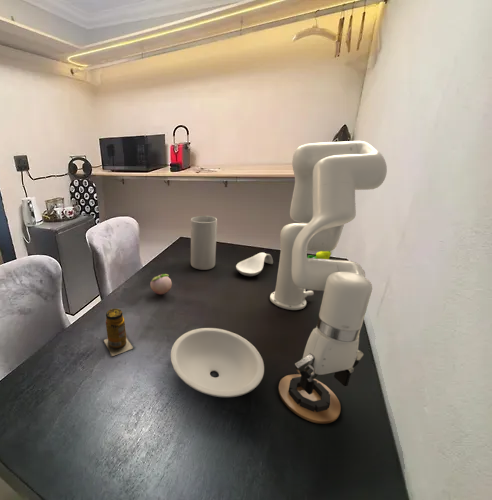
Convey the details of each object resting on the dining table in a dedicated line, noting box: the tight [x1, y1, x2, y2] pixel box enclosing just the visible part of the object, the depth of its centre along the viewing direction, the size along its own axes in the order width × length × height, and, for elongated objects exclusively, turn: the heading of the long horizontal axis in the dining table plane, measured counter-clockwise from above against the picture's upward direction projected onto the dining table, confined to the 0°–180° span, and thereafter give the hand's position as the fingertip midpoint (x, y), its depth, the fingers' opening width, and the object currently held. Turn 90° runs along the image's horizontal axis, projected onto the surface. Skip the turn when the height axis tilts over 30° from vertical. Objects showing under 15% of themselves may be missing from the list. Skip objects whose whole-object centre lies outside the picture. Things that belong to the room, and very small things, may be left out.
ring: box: [288, 376, 330, 412], centre depth 64 cm, size 8×8×2 cm
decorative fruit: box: [150, 273, 173, 295], centre depth 112 cm, size 9×8×10 cm
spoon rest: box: [235, 252, 274, 277], centre depth 128 cm, size 24×12×7 cm, turn 127°
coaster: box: [277, 373, 342, 425], centre depth 65 cm, size 13×13×1 cm
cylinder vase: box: [190, 215, 218, 271], centre depth 134 cm, size 12×12×25 cm
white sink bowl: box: [170, 327, 265, 398], centre depth 72 cm, size 24×24×7 cm
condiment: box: [103, 308, 134, 357], centre depth 84 cm, size 7×8×12 cm
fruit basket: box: [307, 251, 332, 259], centre depth 123 cm, size 11×9×11 cm
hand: (323, 385), depth 64 cm, fingers open, 9 cm apart
